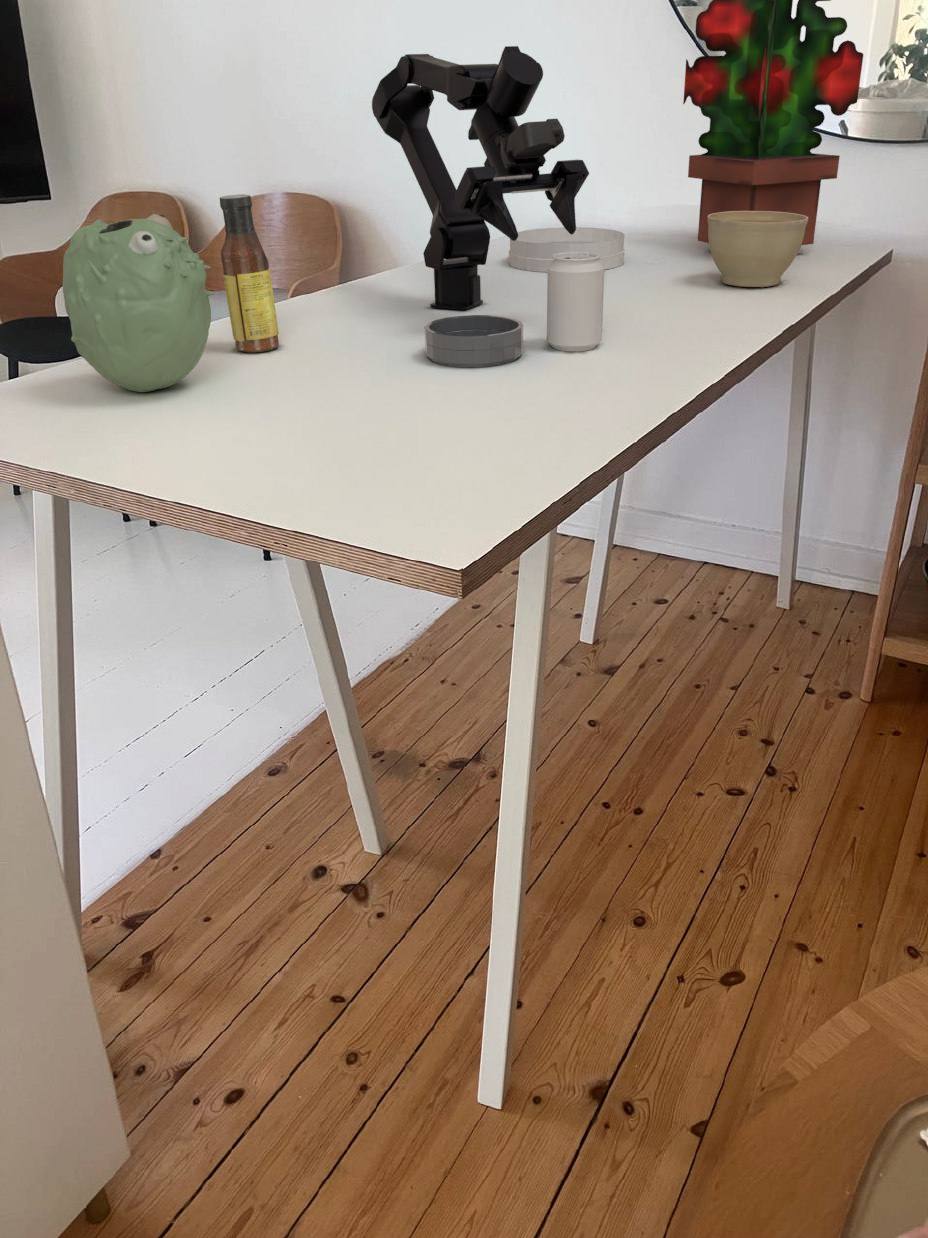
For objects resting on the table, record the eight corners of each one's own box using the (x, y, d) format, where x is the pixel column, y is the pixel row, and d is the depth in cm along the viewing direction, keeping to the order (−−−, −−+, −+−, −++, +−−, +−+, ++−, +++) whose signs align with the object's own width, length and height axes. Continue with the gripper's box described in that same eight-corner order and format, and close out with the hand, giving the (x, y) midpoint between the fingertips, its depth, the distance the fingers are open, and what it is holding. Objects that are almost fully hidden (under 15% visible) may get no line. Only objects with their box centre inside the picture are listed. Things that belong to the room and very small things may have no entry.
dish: (643, 257, 207) (644, 230, 204) (592, 276, 190) (593, 246, 188) (543, 250, 217) (543, 224, 215) (487, 267, 201) (486, 239, 199)
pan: (408, 362, 138) (406, 331, 136) (455, 341, 148) (454, 312, 146) (495, 372, 133) (495, 340, 131) (538, 349, 142) (539, 319, 141)
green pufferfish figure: (120, 368, 139) (91, 205, 129) (249, 376, 134) (229, 207, 124) (44, 401, 126) (6, 223, 116) (184, 412, 120) (156, 226, 111)
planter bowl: (795, 294, 171) (804, 223, 166) (695, 290, 176) (700, 220, 171) (804, 276, 185) (812, 210, 180) (710, 273, 190) (715, 208, 185)
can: (542, 341, 147) (543, 250, 141) (595, 338, 147) (599, 248, 142) (550, 354, 140) (552, 259, 135) (606, 351, 141) (610, 257, 135)
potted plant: (673, 250, 214) (690, -9, 193) (762, 240, 222) (787, -9, 201) (743, 265, 196) (770, -18, 175) (836, 255, 204) (873, -18, 183)
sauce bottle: (288, 344, 149) (272, 192, 139) (266, 355, 143) (248, 198, 134) (246, 342, 151) (228, 192, 141) (224, 352, 145) (203, 197, 136)
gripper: (462, 99, 136) (507, 199, 132) (583, 94, 144) (628, 188, 140) (436, 162, 146) (477, 256, 142) (551, 154, 154) (592, 243, 150)
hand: (545, 235), depth 143 cm, fingers open, 9 cm apart
